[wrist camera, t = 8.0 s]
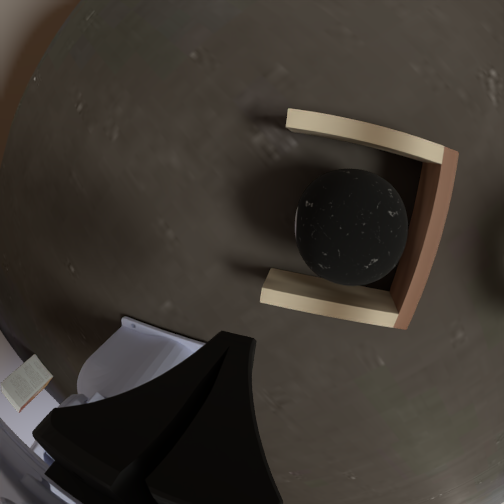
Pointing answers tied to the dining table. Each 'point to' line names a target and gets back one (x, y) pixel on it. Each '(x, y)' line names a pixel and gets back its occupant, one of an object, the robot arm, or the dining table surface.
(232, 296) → the dining table surface
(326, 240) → the billiard ball
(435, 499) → the dining table surface
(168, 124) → the dining table surface
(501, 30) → the dining table surface
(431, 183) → the wooden u-shaped frame
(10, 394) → the small box
